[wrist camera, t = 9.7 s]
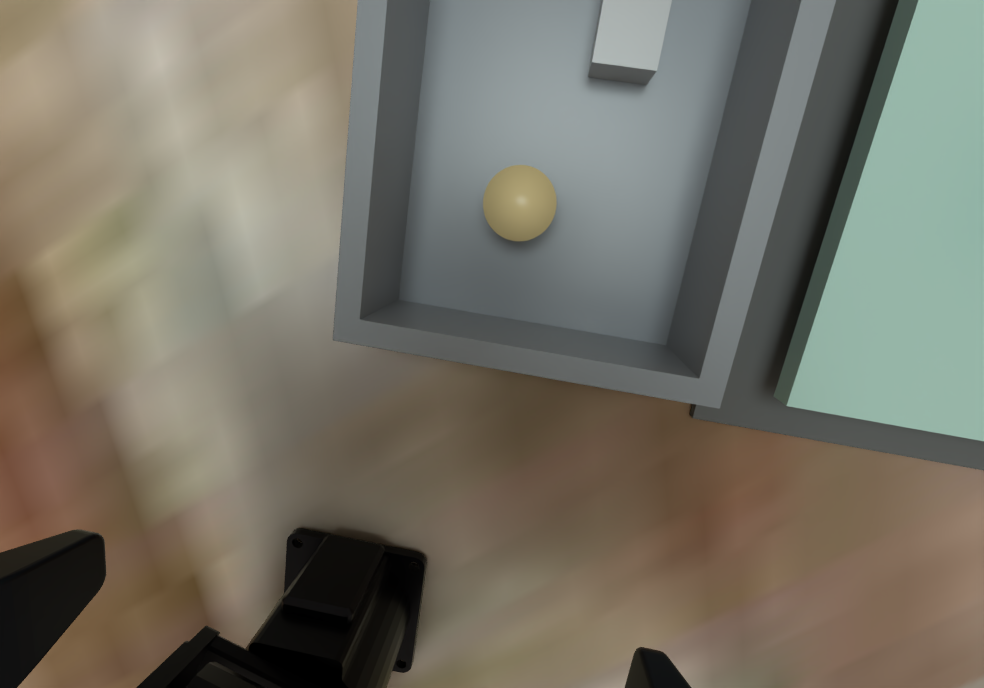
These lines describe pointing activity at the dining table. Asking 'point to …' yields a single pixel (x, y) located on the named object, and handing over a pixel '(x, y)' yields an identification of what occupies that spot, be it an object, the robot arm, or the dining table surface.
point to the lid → (905, 242)
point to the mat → (795, 249)
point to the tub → (569, 182)
